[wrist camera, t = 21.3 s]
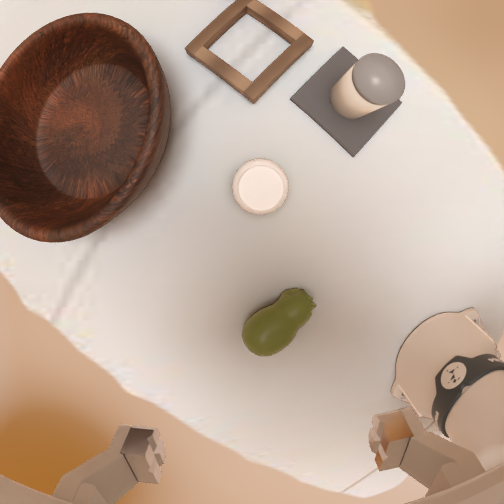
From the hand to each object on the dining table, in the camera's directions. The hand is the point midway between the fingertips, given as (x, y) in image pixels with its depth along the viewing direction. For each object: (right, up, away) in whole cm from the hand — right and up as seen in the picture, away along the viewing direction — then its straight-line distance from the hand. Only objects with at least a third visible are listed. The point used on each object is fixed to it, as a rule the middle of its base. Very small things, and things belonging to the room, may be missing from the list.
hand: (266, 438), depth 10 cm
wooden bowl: (-21, +22, +25) cm, 39 cm away
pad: (+11, +25, +24) cm, 36 cm away
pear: (+3, -1, +31) cm, 31 cm away
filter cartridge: (+11, +25, +23) cm, 36 cm away
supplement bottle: (0, +15, +27) cm, 30 cm away
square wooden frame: (-1, +34, +21) cm, 40 cm away
